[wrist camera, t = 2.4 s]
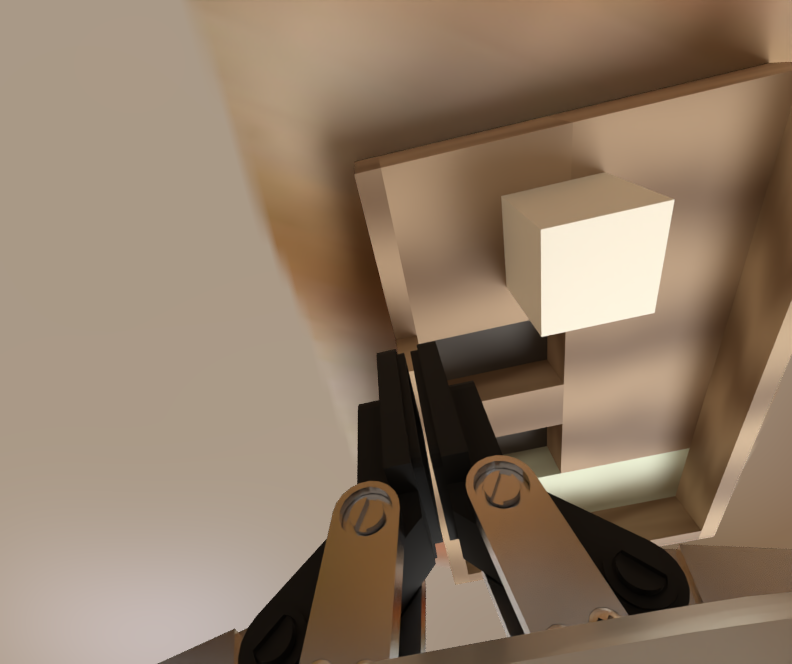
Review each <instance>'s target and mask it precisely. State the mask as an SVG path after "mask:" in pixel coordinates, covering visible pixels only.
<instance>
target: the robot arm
mask: <svg viewBox="0 0 792 664" xmlns="http://www.w3.org/2000/svg"><path fill="white" fill-rule="evenodd" d="M410 354H411V359H412V364H413V370H414V375H415V380H416V386H417V391H418V396H419V401H420V407H421V412H422V417H423V423H424V428H425V433H426V438H427V444H428V449H429V454H430V459H431V463H432V468H433V472H434V476H435V480H436V484H437V488H438V493H439V497H440V501H441V505H442V509H443V513H444V518H445V522H446V526H447V530H448V534H449V538H450V541H451V540H456V539H459V541H460V546H461V550H462V555H463V559H465V560H466V561H468V562H469V563H471V564H472V565H474V566H475V567H477V568H478V569H480V570H481V572H482V576H483V579H484V581H485V584H486V586H487V589H488V591H489V594H490V596H491V598H492V601H493V603H494V606H495V608H496V611H497V613H498V616H499V618H500V621H501V623H502V626H503V628H504V631H505V633H506V636H507V638H502V639H497V640H491V641H485V642H480V643H474V644H469V645H464V646H458V647H452V648H447V649H442V650H436V651H431V652H426V583H425V579H426V577H427V576H428V574H429V573H430V571H431V570H432V568H433V567H434V565H435V564H436V563H435V558H437V554H436V548H435V543H441V542H443V539H442V533H441V527H440V522H439V516H438V511H437V506H436V500H435V495H434V489H433V484H432V478H431V473H430V467H429V462H428V456H427V451H426V445H425V440H424V434H423V429H422V425H421V420H420V416H419V412H418V408H417V404H416V399H415V395H414V391H413V387H412V383H411V379H410V375H409V370H408V366H407V362H406V358H405V354H404V353H400V354H397V352H396V349H395V350H390V351H385V352H381V353H377V369H378V386H379V400H378V401H373V402H368V403H364V404H359V406H358V470H357V471H358V473H357V474H358V475H357V479H358V480H357V485H355V486H353V487H351V488H350V489H348V490H347V491H346V492H345V493H344V494H343V495H342V496H341V497H340V499H339V500H338V501H337V503H336V505H335V508H334V510H333V513H332V518H331V522H330V527H329V531H328V536H327V539H326V540H325V541H324V542H323V544H322V545H321V546H320V547H319V548H318V549H317V550H316V551H315V553H314V554H313V555H312V556H311V557H310V558H309V559H308V560H307V561H306V562H305V563H304V564H303V565H302V567H301V568H300V569H299V570H298V571H297V572H296V573H295V574H294V575H293V576H292V578H291V579H290V580H289V581H288V582H287V583H286V584H285V585H284V586H283V587H282V589H281V590H280V591H279V592H278V593H277V594H276V595H275V596H274V597H273V598H272V600H271V601H270V602H269V603H268V604H267V605H266V606H265V607H264V608H263V610H262V611H261V612H260V613H259V614H258V615H257V616H256V618H255V619H254V620H253V622H252V623H251V624H250V626H249V627H248V628H247V629H245V630H242V631H240V632H237V631H236V629H233V630H231V631H228V632H226V633H224V634H222V635H220V636H218V637H215V638H213V639H211V640H209V641H206V642H205V643H202V644H200V645H198V646H195V647H193V648H191V649H189V650H187V651H184V652H182V653H180V654H178V655H176V656H173V657H171V658H169V659H167V660H165V661H163V662H160V663H158V664H792V549H777V548H753V547H730V546H706V545H682V544H679V545H678V549H662V548H661V547H659V546H658V545H656V544H655V543H653V542H651V541H649V540H647V539H645V538H643V537H641V536H639V535H637V534H635V533H633V532H631V531H628V530H626V529H624V528H622V527H620V526H618V525H616V524H614V523H612V522H609V521H607V520H605V519H603V518H601V517H599V516H597V515H595V514H593V513H590V512H588V511H586V510H584V509H582V508H580V507H578V506H576V505H574V504H572V503H569V502H567V501H565V500H563V499H561V498H559V497H557V496H555V495H553V494H550V493H548V492H547V491H546V490H545V488H544V487H543V485H542V484H541V482H540V481H539V479H538V478H537V476H536V475H535V473H534V472H533V471H532V470H531V468H530V467H529V466H528V465H527V464H525V463H524V462H522V461H520V460H519V459H516V458H513V457H510V456H503V455H502V452H501V450H500V447H499V444H498V442H497V439H496V437H495V434H494V432H493V429H492V426H491V424H490V421H489V419H488V416H487V414H486V411H485V409H484V406H483V403H482V401H481V398H480V396H479V393H478V391H477V388H476V385H475V383H474V381H473V380H472V381H468V382H463V383H458V384H453V385H448V381H447V378H446V375H445V371H444V368H443V365H442V361H441V358H440V355H439V351H438V348H437V345H436V342H435V341H431V342H427V343H422V344H418V345H417V350H414V351H410Z"/></svg>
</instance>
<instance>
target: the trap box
mask: <svg viewBox="0 0 792 664" xmlns="http://www.w3.org/2000/svg"><path fill="white" fill-rule="evenodd" d="M604 172H606V173H608V174H611V175H613V176H616V177H619V178H621V179H624V180H626V181H629V182H631V183H634V184H636V185H639V186H641V187H644V188H647V189H649V190H652V191H654V192H657V193H659V194H662V195H664V196H667V197H670V198H672V199H675V200H674V206H673V212H672V217H671V223H670V229H669V234H668V240H667V246H666V251H665V257H664V263H663V268H662V274H661V280H660V285H659V291H658V296H657V302H656V308H655V313H652V314H647V315H642V316H638V317H633V318H628V319H624V320H619V321H614V322H610V323H605V324H600V325H596V326H591V327H586V328H581V329H577V330H572V331H567V332H563V333H558V334H553V335H549V336H544V337H541V336H540V334H539V333H538V331H537V330H536V328H535V327H534V326H533V324H532V323H531V321H530V320H529V318H528V317H527V316H526V314H525V313H524V311H523V310H522V308H521V307H520V306H519V304H518V303H517V301H516V300H515V298H514V297H513V296H512V294H511V293H510V291H509V290H508V288H507V286H506V269H505V252H504V236H503V219H502V202H501V196H504V195H508V194H512V193H517V192H521V191H525V190H530V189H534V188H538V187H543V186H547V185H551V184H556V183H560V182H564V181H569V180H573V179H577V178H582V177H586V176H590V175H595V174H599V173H604ZM354 176H355V180H356V184H357V188H358V192H359V196H360V200H361V204H362V208H363V212H364V216H365V220H366V224H367V228H368V232H369V236H370V239H371V243H372V247H373V251H374V255H375V259H376V263H377V267H378V271H379V275H380V279H381V283H382V287H383V291H384V295H385V299H386V303H387V307H388V311H389V315H390V319H391V323H392V327H393V331H394V335H395V339H396V345H397V352H398V354H400V353H404V354H405V358H406V362H407V366H408V370H409V375H410V379H411V383H412V387H413V391H414V395H415V399H416V404H417V408H418V412H419V416H420V420H421V425H422V429H423V434H424V440H425V445H426V451H427V456H428V462H429V467H430V473H431V478H432V484H433V489H434V495H435V500H436V506H437V511H438V516H439V522H440V527H441V532H442V536H443V540H444V543H445V547H446V551H447V555H448V559H449V563H450V567H451V571H452V574H453V578H454V582H455V584H462V583H467V582H472V581H478V580H483V576H482V572H481V570H480V569H478V568H477V567H475V566H474V565H472V564H471V563H469V562H468V561H466V560H465V559H463V555H462V550H461V546H460V541H459V539H456V540H451V541H450V538H449V534H448V530H447V526H446V522H445V518H444V513H443V509H442V505H441V501H440V497H439V493H438V488H437V484H436V480H435V476H434V472H433V468H432V463H431V459H430V454H429V449H428V444H427V438H426V433H425V428H424V423H423V417H422V412H421V407H420V401H419V396H418V391H417V386H416V380H415V375H414V370H413V364H412V359H411V354H410V351H414V350H417V345H418V344H422V343H427V342H431V341H435V342H436V345H437V348H438V351H439V355H440V358H441V361H442V365H443V368H444V371H445V375H446V378H447V381H448V385H453V384H458V383H463V382H468V381H472V380H473V381H474V383H475V385H476V388H477V391H478V393H479V396H480V398H481V401H482V403H483V406H484V409H485V411H486V414H487V416H488V419H489V421H490V424H491V426H492V429H493V432H494V434H495V437H496V439H497V442H498V444H499V447H500V450H501V452H502V455H503V456H510V457H513V458H516V459H519V460H520V461H522V462H524V463H525V464H527V465H528V466H529V467H530V468H531V470H532V471H533V472H534V473H535V475H536V476H537V478H538V479H539V481H540V482H541V484H542V485H543V487H544V488H545V490H546V491H547V492H548V493H550V494H553V495H555V496H557V497H559V498H561V499H563V500H565V501H567V502H569V503H572V504H574V505H576V506H578V507H580V508H582V509H584V510H586V511H588V512H590V513H593V514H595V515H597V516H599V517H601V518H603V519H605V520H607V521H609V522H612V523H614V524H616V525H618V526H620V527H622V528H624V529H626V530H628V531H631V532H633V533H635V534H637V535H639V536H641V537H643V538H645V539H647V540H649V541H651V542H653V543H655V544H656V545H658V546H659V547H660V546H665V545H671V544H676V543H681V542H686V541H691V540H697V539H702V538H708V537H713V536H714V535H715V533H716V530H717V528H718V526H719V524H720V521H721V519H722V516H723V514H724V512H725V509H726V507H727V505H728V502H729V500H730V498H731V495H732V493H733V491H734V488H735V486H736V484H737V481H738V479H739V477H740V474H741V472H742V470H743V467H744V465H745V463H746V460H747V458H748V456H749V453H750V451H751V449H752V446H753V444H754V442H755V439H756V437H757V434H758V432H759V430H760V427H761V425H762V423H763V420H764V418H765V416H766V413H767V411H768V409H769V406H770V404H771V402H772V399H773V397H774V395H775V392H776V390H777V388H778V385H779V383H780V381H781V378H782V376H783V374H784V371H785V369H786V367H787V364H788V362H789V360H790V357H791V355H792V62H780V63H767V64H763V65H759V66H755V67H751V68H746V69H742V70H738V71H734V72H730V73H725V74H721V75H717V76H713V77H709V78H704V79H700V80H696V81H692V82H688V83H683V84H679V85H675V86H671V87H667V88H662V89H658V90H654V91H650V92H646V93H641V94H637V95H633V96H629V97H625V98H621V99H616V100H612V101H608V102H604V103H600V104H595V105H591V106H587V107H583V108H579V109H574V110H570V111H566V112H562V113H558V114H553V115H549V116H545V117H541V118H537V119H532V120H528V121H524V122H520V123H516V124H511V125H507V126H503V127H499V128H495V129H490V130H486V131H482V132H478V133H474V134H470V135H465V136H461V137H457V138H453V139H449V140H444V141H440V142H436V143H432V144H428V145H423V146H419V147H415V148H411V149H407V150H402V151H398V152H394V153H390V154H386V155H381V156H377V157H373V158H369V159H365V160H360V161H356V162H355V165H354Z"/></svg>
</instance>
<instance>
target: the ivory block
mask: <svg viewBox="0 0 792 664" xmlns="http://www.w3.org/2000/svg"><path fill="white" fill-rule="evenodd" d="M674 200H675V199H672V198H670V197H667V196H664V195H662V194H659V193H657V192H654V191H652V190H649V189H647V188H644V187H641V186H639V185H636V184H634V183H631V182H629V181H626V180H624V179H621V178H619V177H616V176H613V175H611V174H608V173H606V172H604V173H599V174H595V175H590V176H586V177H582V178H577V179H573V180H569V181H564V182H560V183H556V184H551V185H547V186H543V187H538V188H534V189H530V190H525V191H521V192H517V193H512V194H508V195H504V196H501V202H502V219H503V236H504V252H505V269H506V286H507V288H508V290H509V291H510V293H511V294H512V296H513V297H514V298H515V300H516V301H517V303H518V304H519V306H520V307H521V308H522V310H523V311H524V313H525V314H526V316H527V317H528V318H529V320H530V321H531V323H532V324H533V326H534V327H535V328H536V330H537V331H538V333H539V334H540V336H541V337H544V336H549V335H553V334H558V333H563V332H567V331H572V330H577V329H581V328H586V327H591V326H596V325H600V324H605V323H610V322H614V321H619V320H624V319H628V318H633V317H638V316H642V315H647V314H652V313H655V308H656V302H657V296H658V291H659V285H660V280H661V274H662V268H663V263H664V257H665V251H666V246H667V240H668V234H669V229H670V223H671V217H672V212H673V206H674Z"/></svg>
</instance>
